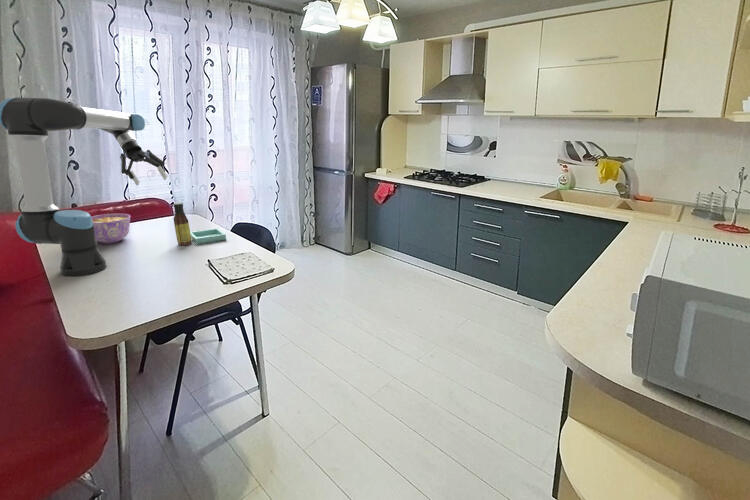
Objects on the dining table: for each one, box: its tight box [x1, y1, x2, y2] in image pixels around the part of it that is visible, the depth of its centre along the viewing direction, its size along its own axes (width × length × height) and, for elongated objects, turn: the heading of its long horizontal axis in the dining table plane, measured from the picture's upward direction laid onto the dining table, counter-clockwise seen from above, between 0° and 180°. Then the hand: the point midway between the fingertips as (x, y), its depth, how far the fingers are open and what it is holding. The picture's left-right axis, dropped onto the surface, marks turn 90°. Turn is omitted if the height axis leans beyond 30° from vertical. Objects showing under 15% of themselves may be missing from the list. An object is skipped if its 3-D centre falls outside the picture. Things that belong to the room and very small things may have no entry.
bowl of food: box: [91, 213, 131, 245], centre depth 205 cm, size 20×20×12 cm
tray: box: [190, 228, 227, 245], centre depth 211 cm, size 14×14×3 cm
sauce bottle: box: [173, 202, 193, 247], centre depth 200 cm, size 6×6×20 cm
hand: (152, 181), depth 202 cm, fingers open, 13 cm apart
